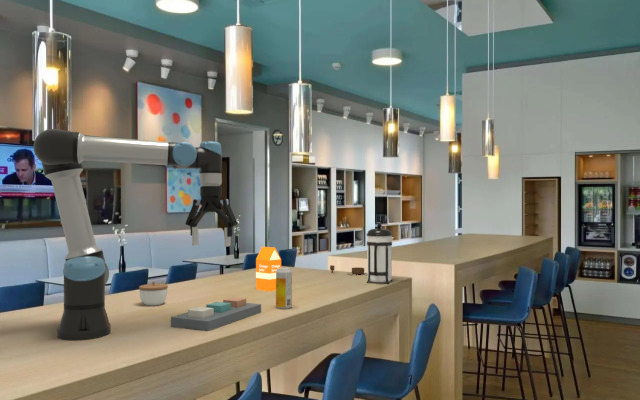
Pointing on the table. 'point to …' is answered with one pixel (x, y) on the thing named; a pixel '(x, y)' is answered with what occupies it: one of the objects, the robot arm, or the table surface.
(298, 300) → the table surface
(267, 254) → the orange juice
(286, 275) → the beer can
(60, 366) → the table surface
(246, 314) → the panel
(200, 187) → the robot arm
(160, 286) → the lidded jar
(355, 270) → the place setting
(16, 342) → the table surface
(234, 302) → the terracotta button
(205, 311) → the cream button
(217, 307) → the teal button
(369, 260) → the coffee press
